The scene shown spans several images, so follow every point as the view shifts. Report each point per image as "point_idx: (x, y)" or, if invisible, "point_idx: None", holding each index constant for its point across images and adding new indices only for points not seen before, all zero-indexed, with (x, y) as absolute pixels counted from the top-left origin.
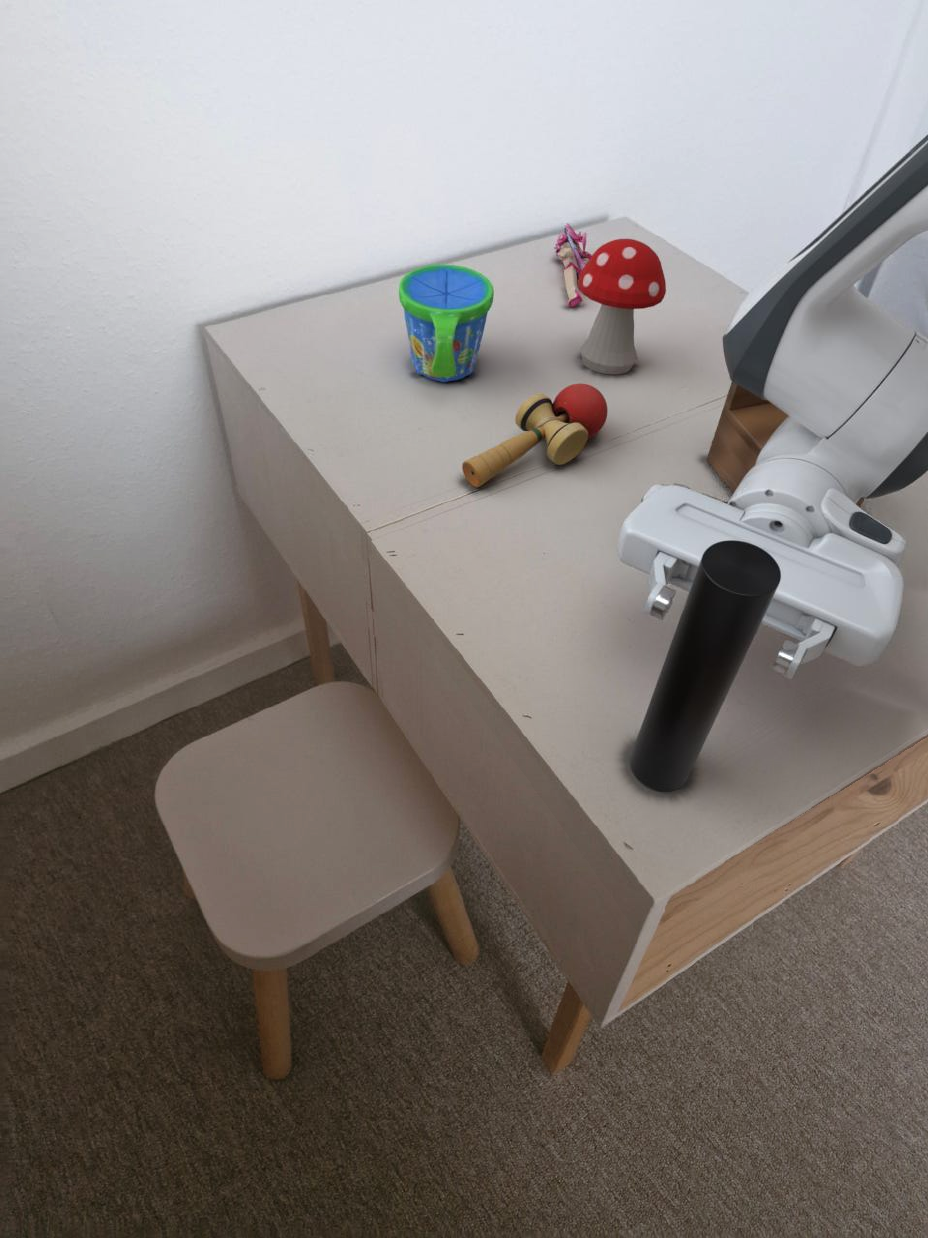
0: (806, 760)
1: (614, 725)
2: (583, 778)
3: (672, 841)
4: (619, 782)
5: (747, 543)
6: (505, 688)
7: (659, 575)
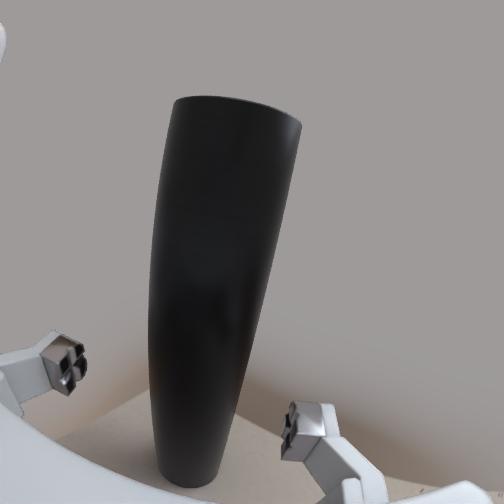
0: None
1: (246, 491)
2: (251, 435)
3: None
4: None
5: (242, 100)
6: None
7: (348, 449)
